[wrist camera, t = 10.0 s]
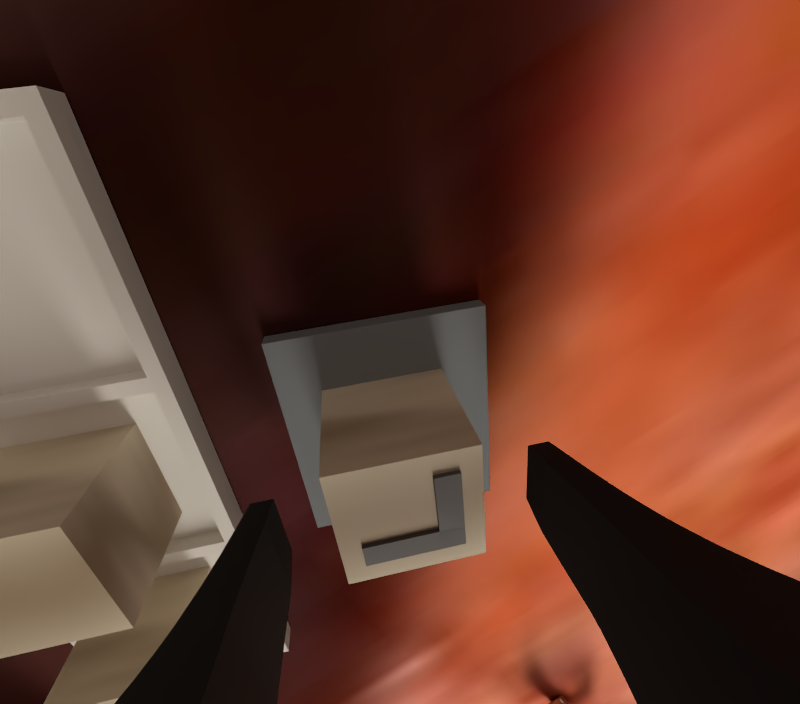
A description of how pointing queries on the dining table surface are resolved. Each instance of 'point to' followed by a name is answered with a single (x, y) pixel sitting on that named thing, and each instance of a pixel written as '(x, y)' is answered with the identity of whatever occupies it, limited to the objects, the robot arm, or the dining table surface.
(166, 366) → the sorting tray
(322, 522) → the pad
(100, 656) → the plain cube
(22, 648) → the plain cube middle
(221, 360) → the dining table surface
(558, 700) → the ring
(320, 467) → the letter cube
